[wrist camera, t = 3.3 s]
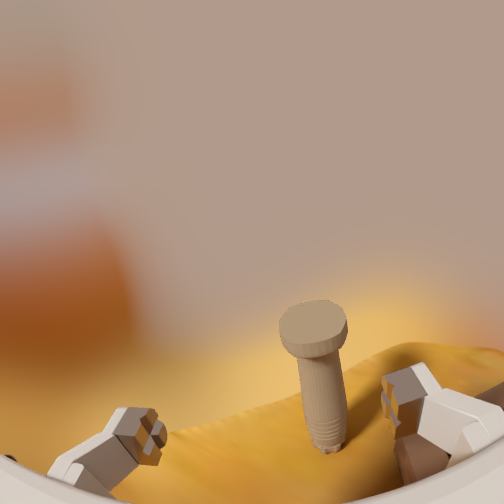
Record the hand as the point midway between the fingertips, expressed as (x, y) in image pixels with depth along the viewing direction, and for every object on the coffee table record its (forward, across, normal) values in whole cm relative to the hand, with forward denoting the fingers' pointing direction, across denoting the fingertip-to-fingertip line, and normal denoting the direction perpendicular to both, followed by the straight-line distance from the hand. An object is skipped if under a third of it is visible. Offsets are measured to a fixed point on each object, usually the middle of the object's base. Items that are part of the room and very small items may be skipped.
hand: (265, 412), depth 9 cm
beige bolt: (+11, +2, -18) cm, 22 cm away
